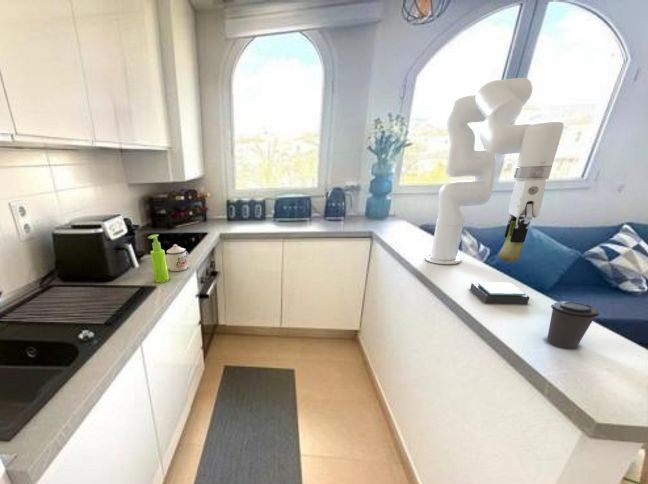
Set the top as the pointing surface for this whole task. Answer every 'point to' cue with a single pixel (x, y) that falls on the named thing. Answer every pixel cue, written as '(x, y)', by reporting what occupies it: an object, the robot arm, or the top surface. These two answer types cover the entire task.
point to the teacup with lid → (177, 258)
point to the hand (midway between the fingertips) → (513, 239)
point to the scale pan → (501, 289)
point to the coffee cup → (569, 323)
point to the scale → (497, 296)
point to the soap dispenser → (158, 261)
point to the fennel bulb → (510, 247)
